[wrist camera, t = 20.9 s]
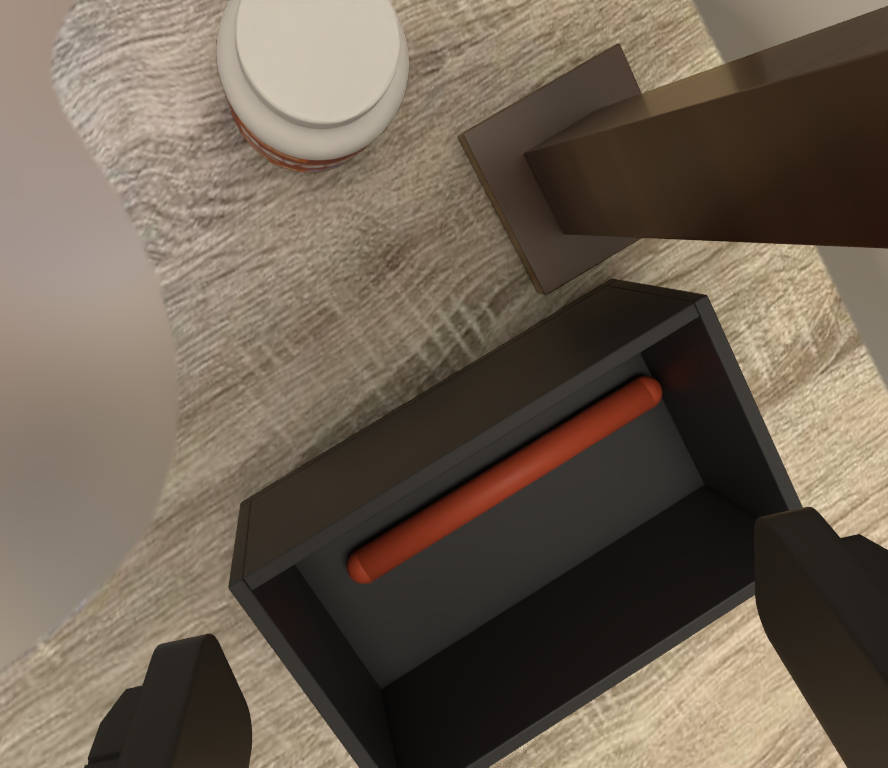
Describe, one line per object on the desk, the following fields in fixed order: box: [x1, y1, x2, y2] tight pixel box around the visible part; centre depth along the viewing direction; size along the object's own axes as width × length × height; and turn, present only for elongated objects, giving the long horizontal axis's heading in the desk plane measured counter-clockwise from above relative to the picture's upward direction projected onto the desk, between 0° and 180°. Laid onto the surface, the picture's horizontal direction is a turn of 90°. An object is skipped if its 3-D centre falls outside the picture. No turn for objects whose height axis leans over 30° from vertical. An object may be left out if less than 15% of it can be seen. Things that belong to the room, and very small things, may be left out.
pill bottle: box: [216, 0, 409, 173], centre depth 27 cm, size 6×6×11 cm
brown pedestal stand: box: [458, 6, 888, 295], centre depth 19 cm, size 11×8×35 cm
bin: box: [229, 279, 803, 768], centre depth 34 cm, size 20×12×9 cm, turn 119°
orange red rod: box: [347, 376, 662, 584], centre depth 36 cm, size 17×2×2 cm, turn 119°
